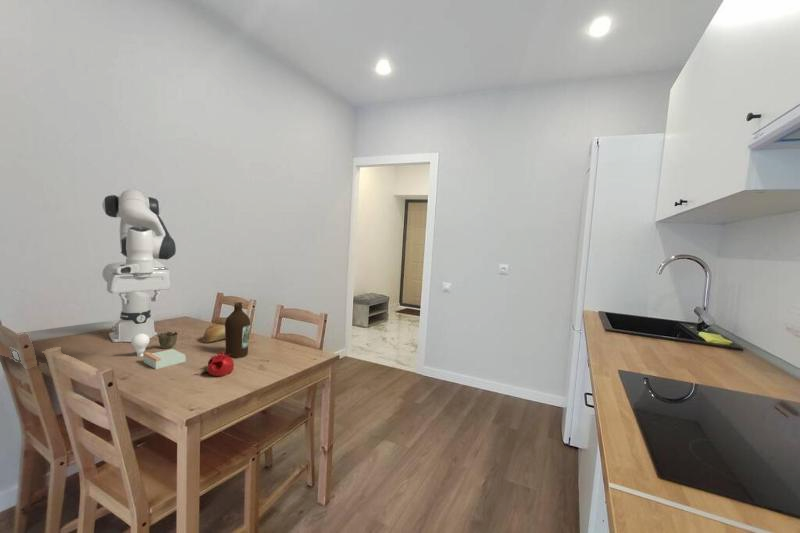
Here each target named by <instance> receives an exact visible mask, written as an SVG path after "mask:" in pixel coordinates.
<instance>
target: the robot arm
mask: <svg viewBox="0 0 800 533" xmlns="http://www.w3.org/2000/svg"><path fill="white" fill-rule="evenodd" d="M102 209H103V212H104V213H105V215H106V216H107V217H110V218H115V219H116V218H120V222H119V244H120V249H121V251H120V254H122V256H124V257H125V261H124V262H122V261H119V262H113V263H109V264H107V265H105V267H104V268H103V269H102V278H103V279H104V281H105V282H106V290H107V292H108V293H109V294H118V296H119V297H120V298H121V311H120V314H119V315H120V316H119V319H118V321H116V323H115V324H114V326H113V325H112V326H111V331H112V332H108V333H109V334H108V336H109V338H110V340H111V341H112V342H113V343H118V342H119V343H120V342H122V343H123V342H124V343H127V342H128V343H131V340H132V338H133V337H134V336H135V335H137V334H140V333H143V334H146V335H148V336H149V338H150V339H152V338H153V337H155V336H156V335H158V332H157V331H155V324H154V323H155V321H154V319H153V318H151V316H152V315H151V314H152V310H151V309H150V308H151V307H150V305H151V303H150V301H151V302H157V301H158V297H159V295H160V294H161V291H162V290H169V289H170V288H171V281H170V275H171V274H170V273H171V272H170V270H169V268H167V267H166V266H165V264H163V263H161V262H160V261H158V260H165V261H166V260H169V259H171V258H173V257H174V256H175V255H176V251H177V245H176V243H175V240H174V239H173V237H172V236H171V234H170V233H169V231H168V229H167V227H166V224H165V223H164V221H163V219H162V218H161V217H160V214H161V204H160V202H159V200H158V199H157V198H154V197H150V196H148V197H146V196H145V195H144V193H142V192H141V191H139V190H138V189H137V190H136V189H126V190H124V191H122V193H120V195H116V194H111V195H107V196H105V197H104V199H103V201H102ZM153 233H154V234H155V235H154V234H153ZM149 291H153V292H154V294H153V296H150V295H149V293H147V292H149Z"/></svg>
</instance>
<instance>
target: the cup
mask: <svg viewBox="0 0 800 533" xmlns="http://www.w3.org/2000/svg"><path fill="white" fill-rule="evenodd" d="M157 335H158V342H159V346H160V347H161V348H163V349H166V350H169V349H171V348H172V349H173V347H174V346H175V345H176V343H177V340H178V339H177V338H178V332H176V331H174V333H173V331H167V332H166V331H164V332H160V333H159V334H158V333H157Z"/></svg>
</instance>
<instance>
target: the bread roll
mask: <svg viewBox="0 0 800 533" xmlns="http://www.w3.org/2000/svg"><path fill="white" fill-rule="evenodd" d="M221 340H225V324H213V325H210V326H208V327H207V328H206V329H205V331H204V334H203V341H204V342H205V343H212V342H217V341H221Z"/></svg>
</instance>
